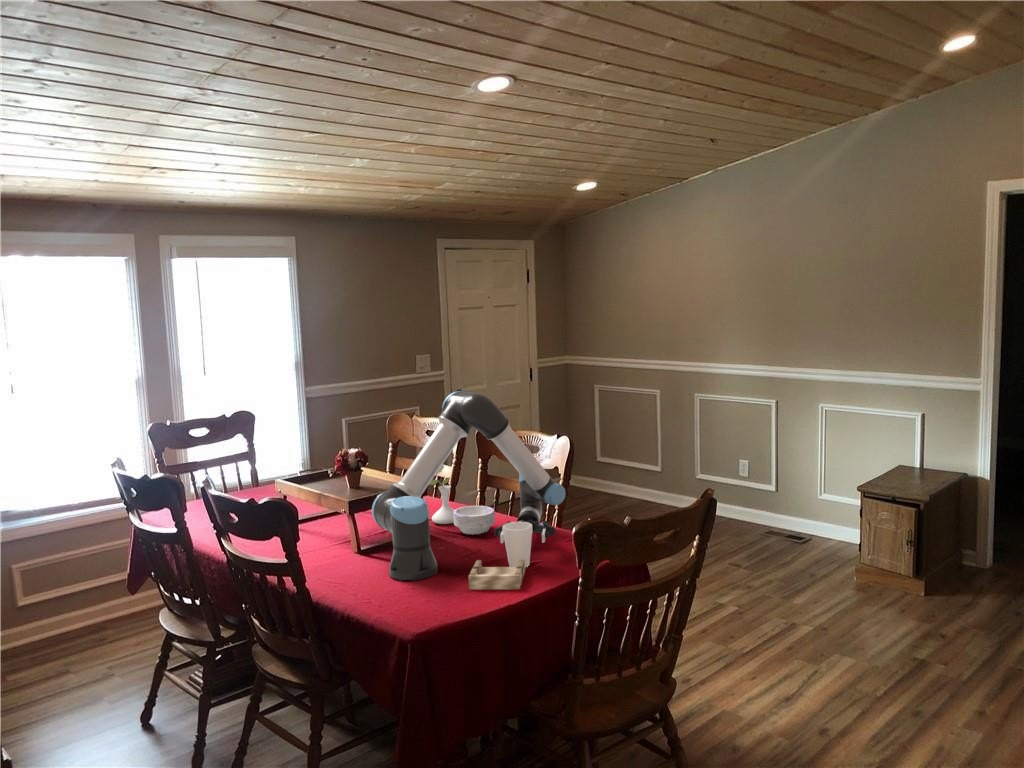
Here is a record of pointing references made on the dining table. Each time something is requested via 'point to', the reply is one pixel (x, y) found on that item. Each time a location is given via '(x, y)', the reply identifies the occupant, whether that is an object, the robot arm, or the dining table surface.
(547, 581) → the dining table surface
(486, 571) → the cradle
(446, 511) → the flower in vase
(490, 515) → the paper bowls
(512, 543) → the foam cup
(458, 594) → the dining table surface
